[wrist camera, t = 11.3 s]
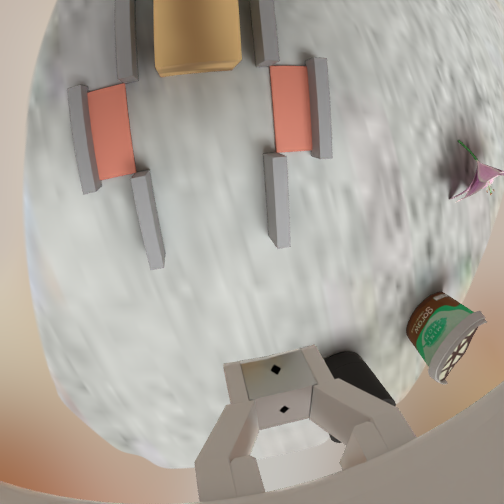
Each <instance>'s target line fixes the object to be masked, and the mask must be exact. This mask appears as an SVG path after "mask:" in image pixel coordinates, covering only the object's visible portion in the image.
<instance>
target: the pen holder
mask: <svg viewBox="0 0 504 504" xmlns="http://www.w3.org/2000/svg"><path fill="white" fill-rule="evenodd" d="M324 361H325V363H326V365H327V367H328V368H329V370H330V372H331V374H332V376H333V378H334V379H338V378H339V379H341V380H343V381H345V382H347V383H349V384H351V385H353V386H355V387H357V388H359V389H360V390H362V391H364V392H366V393H368V394H370V395H372V396H375V397H377V398H379V399H381V400H383V401H385V402H387V403H389V404H391V405H393V406H395V405H396V404H395V401H394V400H393V399H392V397H391V396H390V395H389V393H388V392H387V391H386V389H385V388H384V387H383V385H382V384H381V383H380V381H379V380H378V379H377V377H376V376H375V375H374V373H373V372H372V371H371V369H370V368H369V367H368V366H367V364H366V363H365V362H364V361H363V359H362V358H361V357H360V356H359V355H358V354H356V353H351V352H343V353H338V354H335V355H333V356H331V357H329V358H327V359H326V360H324ZM329 435H330V438H331V440H332V441H334V442H337V443H342V442H340V441H339V440H338V439H336V438H335V437H333V436H332V435H331V434H329Z"/></svg>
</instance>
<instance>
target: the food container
mask: <svg viewBox="0 0 504 504" xmlns="http://www.w3.org/2000/svg"><path fill="white" fill-rule="evenodd" d="M486 322H487V321H486V320H485V317H484V315H483V314H482V313H481V311H477V312H473V311H471V310H470V309H468V308H467V307H465V306H464V305H462V304H460V303H459V302H457V301H456V300H454V299H453V298H451V297H450V296H448V295H446V294H445V293H443V292H437V293H435V294H432V295H430V296H429V297H428V298H426V299H425V300H424V301H423V302H422V303H421V304H420V305H419V306H418V307H417V308H416V309H415V311H414V312H413V314H412V315H411V317H410V319H409V321H408V324H407V329H406V333H407V336H408V338H409V339H410V341H411V342H412V343H413V345H414V346H415V348H416V349H417V350H418V352H419V353H420V355H421V356H422V358H423V359H424V361H425V362H426V364H427V365H428V366H429V370H428V373H429V376H430V377H431V378H433V379H434V380H435V381H437V382H439V383H441V384H447V381H446V380H445V378H446V377H447V376H448V374H449V372H450V371H451V369H452V368H453V367H454V365H455V364H456V363H457V362H458V361H459V360H460V358H461V357H462V356H463V355H464V353H465V352H466V350H467V348H468V346H469V343H470V341H471V339H472V337H473V335H474V333H475V332H476V330H477V328H478V326H479V325H481V324H483V323H486Z"/></svg>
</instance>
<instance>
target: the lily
mask: <svg viewBox="0 0 504 504" xmlns="http://www.w3.org/2000/svg"><path fill="white" fill-rule="evenodd" d="M458 142H459V143H460V144H461V145H462V146H463V147H464V148H465V149H467V150H468V151H469V152H470V154H471V155H472V156H473V157H474V159H475V160H476V162H477V164H478V165H477V170H476V173H475V176H474V179H473V181H472V183H471V184H470V186H469V187H468V188H467V189H466V190H465V191H463V192H462V193H460V194H458V195H457V196H459V195H462V194H464V193H466V192H467V191H468V192H467V194H466V196H465V197H464V198H466V197H469V196H471V195H473V194H475V193H477V192H478V191H480V190H481V189H483V188H485V187H487V186H488V187H489V191H490V195H491V194H492V193H491V189H490V186H491V184H492V183H493V181H494V178H495V177H498V176H499V175H504V171H502V170H499V169H496V168H493V167H491V166H488V165H485V164H482V163H480V162H479V161H478V159H477V158H476V157H475V155H474V154H473V153H472V152H471V151H470V150H469V149H468V148H467V147H466V146H465V145H464V144H463V143H462V142H461V141H460V140H458ZM489 185H490V186H489ZM491 188H492V187H491ZM492 190H493V191H494V189H492ZM487 191H488V190H487ZM487 193H488V192H487ZM457 196H455V197H457ZM455 197H453V198H455ZM464 198H462V199H464ZM451 199H452V198H451ZM462 199H460V200H462ZM460 200H458V201H460ZM458 201H456V202H458Z"/></svg>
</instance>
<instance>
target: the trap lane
mask: <svg viewBox="0 0 504 504" xmlns="http://www.w3.org/2000/svg"><path fill="white" fill-rule="evenodd" d="M250 9H251V19H252V29H253V40H254V50H255V61H256V67H268V66H269V67H270V78H271V90H272V102H273V115H274V129H275V143H276V152H275V153H264V154H263V159H264V172H265V187H266V201H267V216H268V232H269V237H270V239H271V240H272V242H273V243H274V244H275V246H276V247H277V249H280V248H286V247H291V244H290V214H289V190H288V170H287V156H284V155H282V154H279V153H280V152H293V151H308V150H311V156H313V157H316V158H319V159H330V158H332V128H331V108H330V92H329V78H328V66H327V58H317V57H314V58H311V59H309V60H306V61H305V64H306V66H271V65H273V64H275V63H276V62H278V61H280V59H279V48H278V38H277V28H276V19H275V10H274V1H273V0H250ZM115 45H116V63H117V77H118V80H120V81H122V82H123V84H119V85H115V86H111V87H107V88H103V89H99V90H95V91H92V92H88V87H87V86H84V85H77V86H74V87H71V88H68V101H69V111H70V120H71V127H72V135H73V142H74V148H75V154H76V160H77V166H78V171H79V176H80V181H81V186H82V191H83V195H84V194H88V193H92V192H96V191H97V190H98V189H99V188H101V187H102V184H101V180H104V179H109V178H113V177H118V176H123V175H127V174H132V173H135V174H134V175H133V177H132V178H131V183H132V189H133V194H134V199H135V204H136V209H137V214H138V219H139V224H140V228H141V233H142V237H143V241H144V246H145V250H146V254H147V258H148V262H149V266H150V270H154V269H160V268H164V263H165V249H164V244H163V239H162V234H161V229H160V224H159V219H158V214H157V209H156V203H155V198H154V192H153V186H152V181H151V174H150V170H145V171H140V172H136V166H135V160H134V153H133V147H132V140H131V132H130V125H129V116H128V108H127V98H126V88H125V84H126V83H130V82H135V81H139V78H138V65H137V50H136V30H135V0H115Z"/></svg>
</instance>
